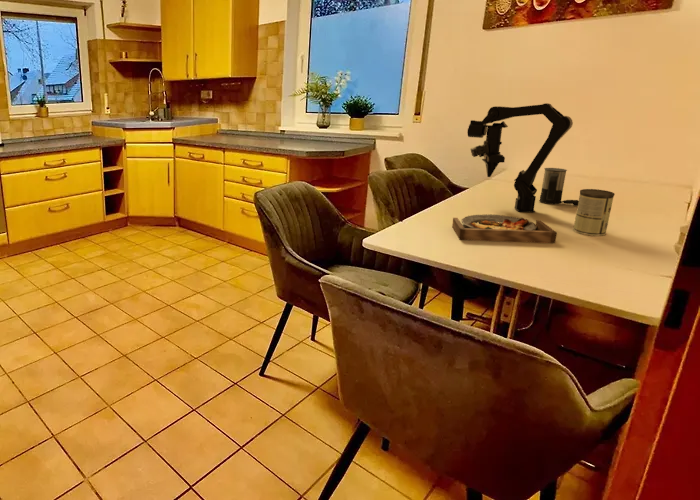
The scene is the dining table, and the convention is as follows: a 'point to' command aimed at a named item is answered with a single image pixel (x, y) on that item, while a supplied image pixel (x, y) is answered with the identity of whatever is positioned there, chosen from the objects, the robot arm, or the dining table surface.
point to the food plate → (492, 222)
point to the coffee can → (593, 212)
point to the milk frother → (554, 187)
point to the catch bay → (506, 233)
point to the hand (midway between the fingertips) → (488, 176)
